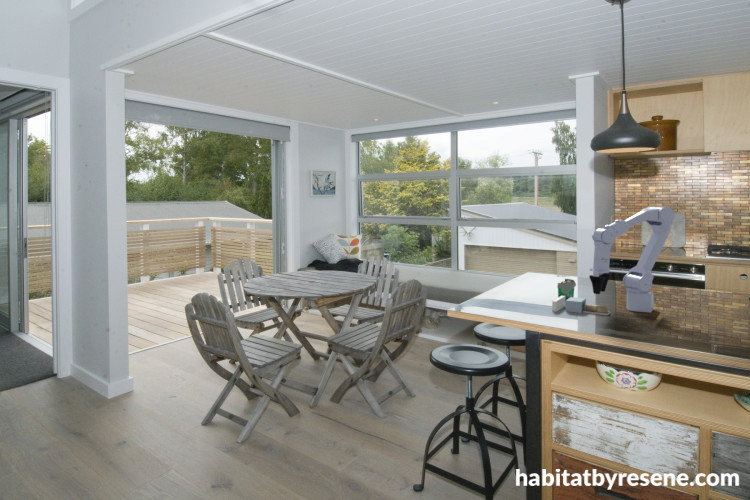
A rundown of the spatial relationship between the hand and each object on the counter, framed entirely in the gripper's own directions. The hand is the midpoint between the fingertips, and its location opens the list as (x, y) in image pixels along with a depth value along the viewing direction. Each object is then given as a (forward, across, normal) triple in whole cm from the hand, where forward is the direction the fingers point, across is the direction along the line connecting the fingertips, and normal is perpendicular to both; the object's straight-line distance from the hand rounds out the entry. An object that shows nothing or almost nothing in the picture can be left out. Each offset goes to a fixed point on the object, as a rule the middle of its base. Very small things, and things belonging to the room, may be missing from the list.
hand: (599, 292), depth 187 cm
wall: (+10, 0, -15) cm, 18 cm away
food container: (+10, -17, -16) cm, 26 cm away
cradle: (+10, 0, 0) cm, 10 cm away
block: (+10, 0, -8) cm, 13 cm away
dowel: (+8, 0, 0) cm, 8 cm away
